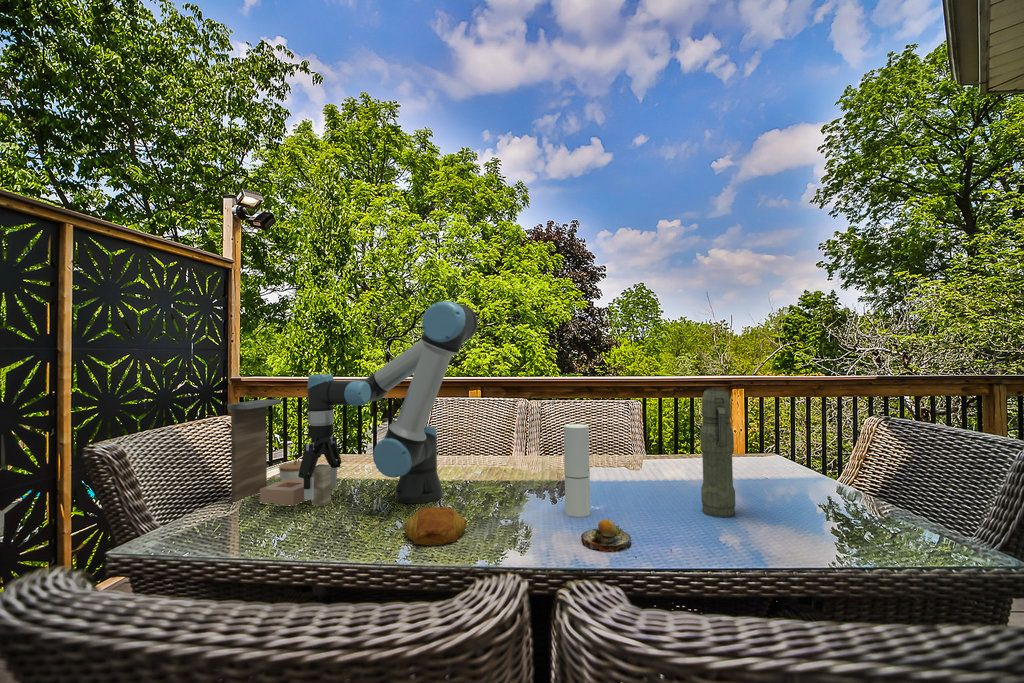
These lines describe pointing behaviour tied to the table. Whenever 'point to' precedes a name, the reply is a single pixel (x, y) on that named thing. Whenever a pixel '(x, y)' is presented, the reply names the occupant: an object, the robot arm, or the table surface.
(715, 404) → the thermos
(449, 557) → the table surface
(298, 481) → the socket block
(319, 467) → the peg
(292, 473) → the lidded jar
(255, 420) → the capped wooden panel
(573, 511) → the cylindrical container
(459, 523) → the croissant
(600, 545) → the wood slice egg decoration
